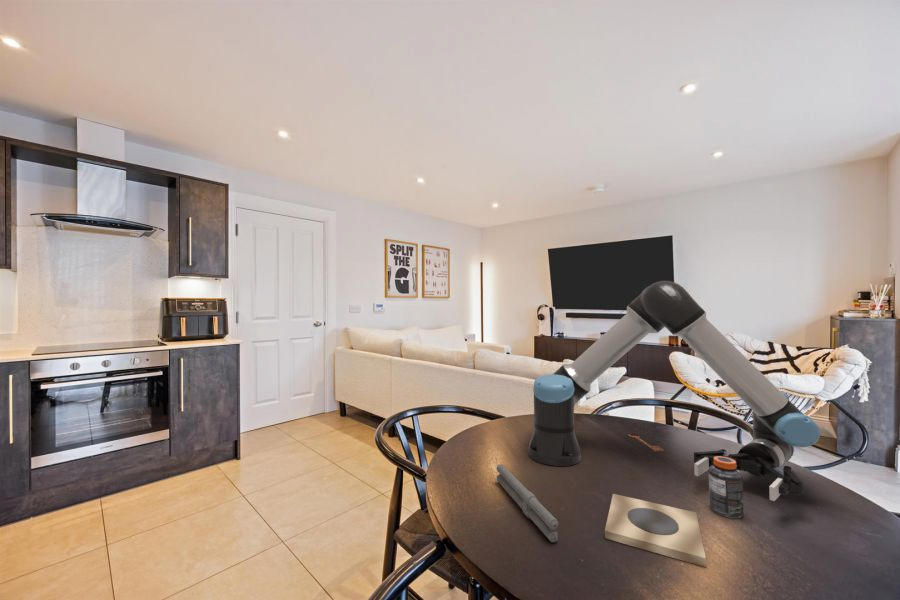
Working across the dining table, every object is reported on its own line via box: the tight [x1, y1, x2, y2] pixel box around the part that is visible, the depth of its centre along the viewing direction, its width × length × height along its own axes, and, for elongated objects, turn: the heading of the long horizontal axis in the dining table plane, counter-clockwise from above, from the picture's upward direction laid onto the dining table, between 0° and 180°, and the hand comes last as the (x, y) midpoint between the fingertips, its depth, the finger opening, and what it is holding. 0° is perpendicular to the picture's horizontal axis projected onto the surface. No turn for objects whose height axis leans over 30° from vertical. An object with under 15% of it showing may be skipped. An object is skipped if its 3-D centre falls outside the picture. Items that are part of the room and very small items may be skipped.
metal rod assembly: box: [496, 463, 559, 543], centre depth 81 cm, size 26×3×5 cm, turn 16°
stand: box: [604, 493, 707, 568], centre depth 73 cm, size 16×16×2 cm
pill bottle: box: [708, 456, 745, 519], centre depth 79 cm, size 6×6×11 cm
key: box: [627, 433, 665, 452], centre depth 120 cm, size 6×1×15 cm
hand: (731, 481), depth 79 cm, fingers open, 13 cm apart
